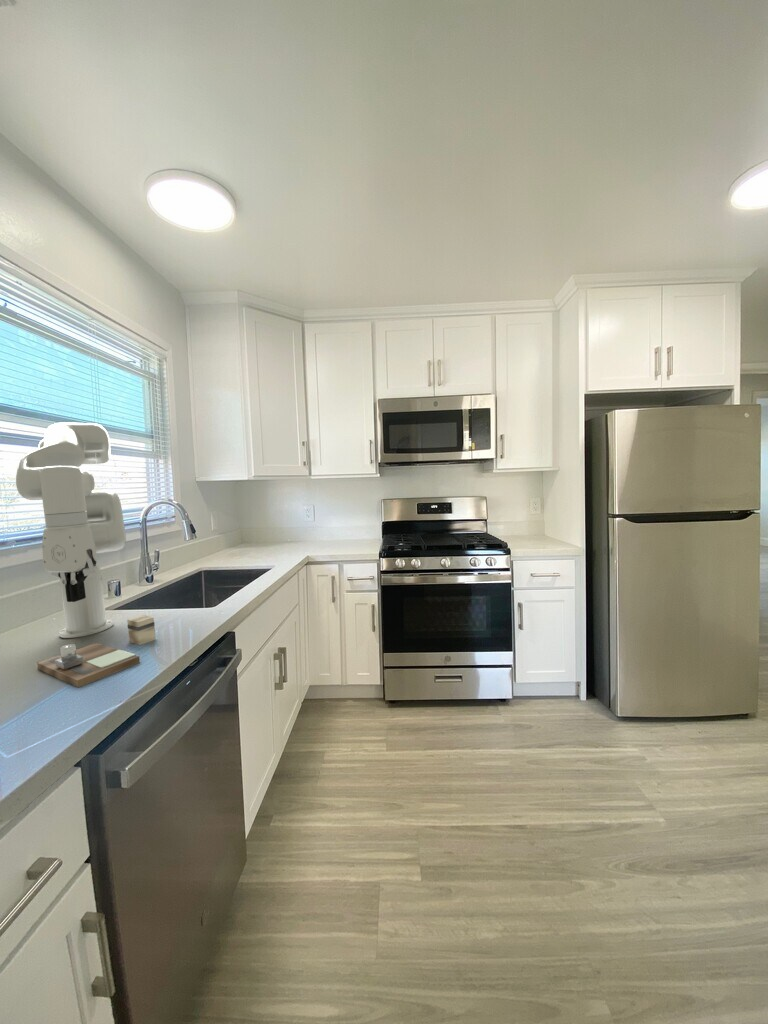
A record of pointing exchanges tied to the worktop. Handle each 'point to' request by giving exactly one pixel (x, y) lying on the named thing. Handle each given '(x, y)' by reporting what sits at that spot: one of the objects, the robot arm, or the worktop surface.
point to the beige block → (141, 629)
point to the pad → (110, 658)
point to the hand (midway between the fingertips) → (76, 599)
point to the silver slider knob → (68, 657)
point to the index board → (86, 666)
